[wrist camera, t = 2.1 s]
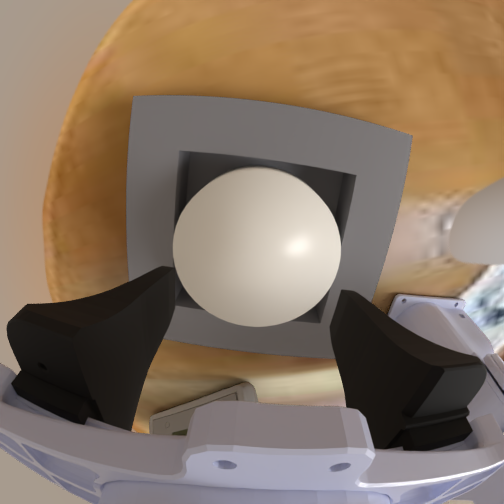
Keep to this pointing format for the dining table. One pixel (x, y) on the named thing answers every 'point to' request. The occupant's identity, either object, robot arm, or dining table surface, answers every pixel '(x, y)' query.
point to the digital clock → (180, 416)
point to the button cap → (256, 247)
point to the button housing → (266, 154)
